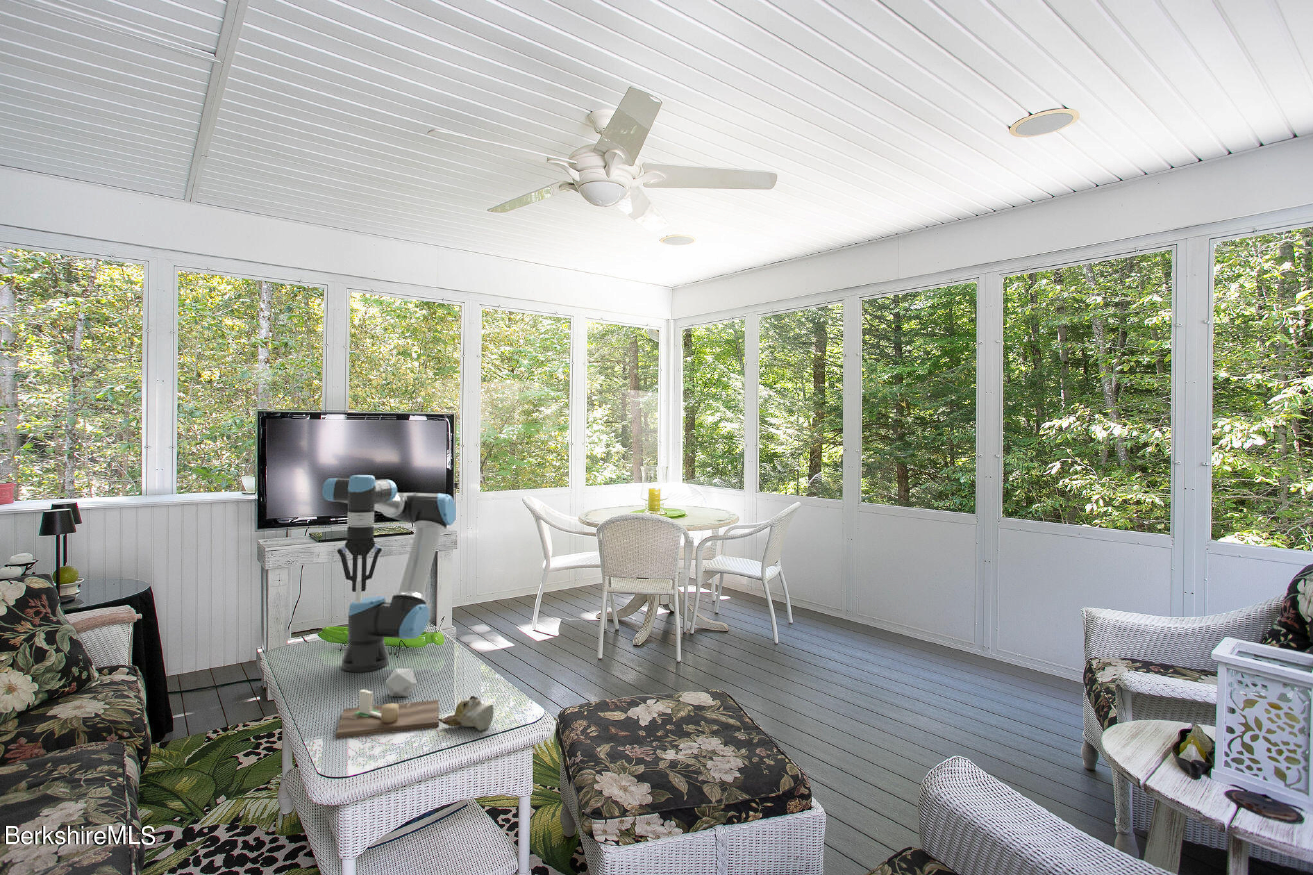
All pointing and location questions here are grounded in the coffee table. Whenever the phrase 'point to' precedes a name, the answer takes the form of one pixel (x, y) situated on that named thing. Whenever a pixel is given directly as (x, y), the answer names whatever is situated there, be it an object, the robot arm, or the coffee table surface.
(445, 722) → the ceramic sculpture
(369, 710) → the knob lever
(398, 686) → the die
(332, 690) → the coffee table surface
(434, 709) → the dial plate
